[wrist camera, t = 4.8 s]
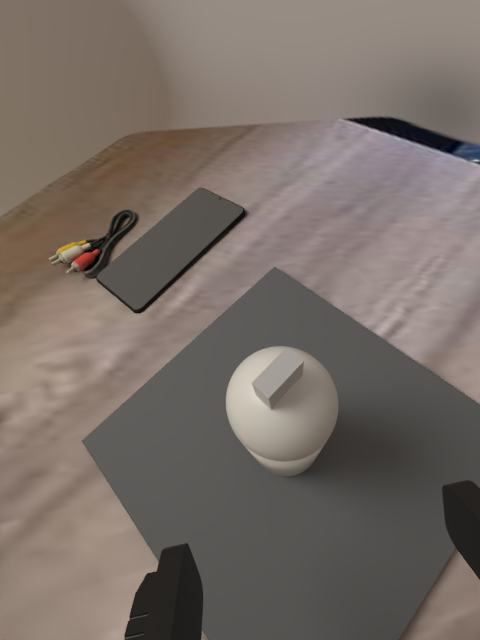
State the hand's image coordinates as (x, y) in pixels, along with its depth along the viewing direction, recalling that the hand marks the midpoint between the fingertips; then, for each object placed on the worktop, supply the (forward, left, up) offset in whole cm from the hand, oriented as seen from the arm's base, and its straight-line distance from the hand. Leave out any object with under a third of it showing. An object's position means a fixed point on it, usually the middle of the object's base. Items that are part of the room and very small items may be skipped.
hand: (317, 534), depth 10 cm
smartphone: (-24, +8, -11) cm, 27 cm away
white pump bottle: (-4, +2, -10) cm, 11 cm away
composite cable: (-29, +4, -11) cm, 31 cm away
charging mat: (-4, +2, -10) cm, 11 cm away
